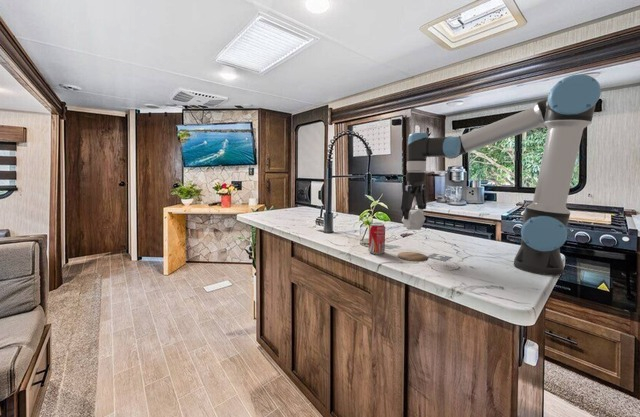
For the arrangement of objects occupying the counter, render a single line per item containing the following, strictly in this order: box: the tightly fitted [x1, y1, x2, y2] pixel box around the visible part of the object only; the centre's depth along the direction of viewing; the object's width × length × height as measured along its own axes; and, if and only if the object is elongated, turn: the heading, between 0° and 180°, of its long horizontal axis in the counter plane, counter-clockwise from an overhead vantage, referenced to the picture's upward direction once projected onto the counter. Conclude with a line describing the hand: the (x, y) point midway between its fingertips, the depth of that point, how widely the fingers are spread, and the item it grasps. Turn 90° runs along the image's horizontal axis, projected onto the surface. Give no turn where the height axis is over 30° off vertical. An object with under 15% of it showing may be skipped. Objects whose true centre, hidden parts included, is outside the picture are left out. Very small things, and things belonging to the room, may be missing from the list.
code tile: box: [426, 252, 453, 262], centre depth 125 cm, size 8×8×1 cm
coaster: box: [397, 251, 428, 262], centre depth 125 cm, size 12×12×1 cm
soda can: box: [368, 222, 386, 255], centre depth 131 cm, size 7×7×13 cm
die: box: [401, 209, 427, 231], centre depth 123 cm, size 8×9×10 cm
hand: (413, 225), depth 124 cm, fingers closed on die, 10 cm apart
